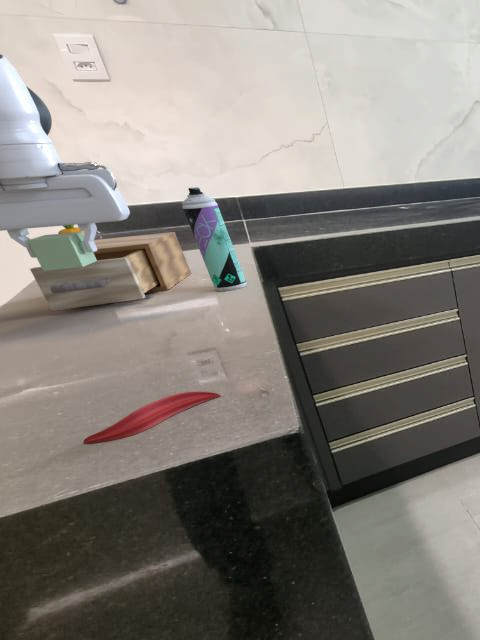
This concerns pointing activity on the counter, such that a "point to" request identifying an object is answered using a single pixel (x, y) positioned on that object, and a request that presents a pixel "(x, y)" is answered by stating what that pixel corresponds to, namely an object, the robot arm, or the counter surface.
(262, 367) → the counter surface
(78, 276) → the drawer
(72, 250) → the block
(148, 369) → the counter surface
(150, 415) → the cayenne pepper
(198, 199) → the spray can
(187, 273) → the cabinet
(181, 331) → the counter surface
